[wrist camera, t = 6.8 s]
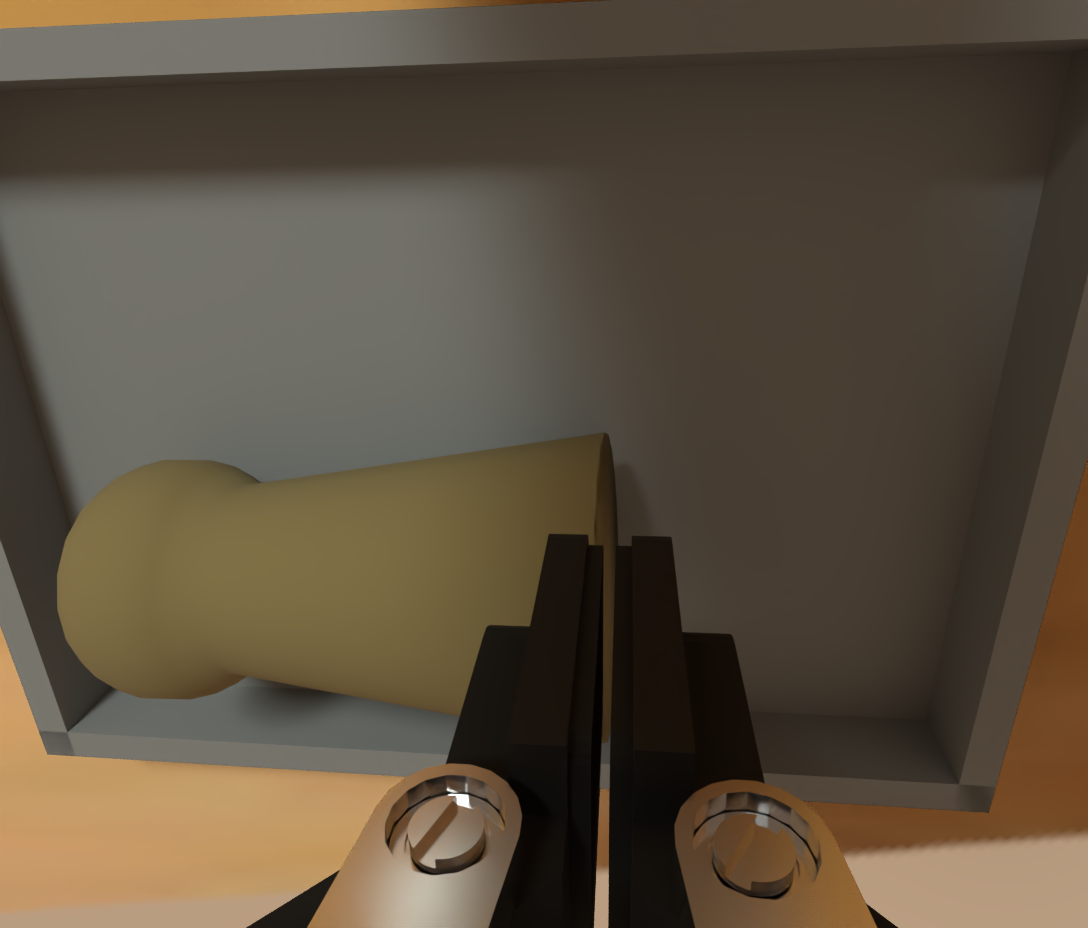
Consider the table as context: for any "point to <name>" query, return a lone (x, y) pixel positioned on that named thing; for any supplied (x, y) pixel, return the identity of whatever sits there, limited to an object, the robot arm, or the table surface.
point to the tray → (578, 332)
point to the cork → (328, 571)
